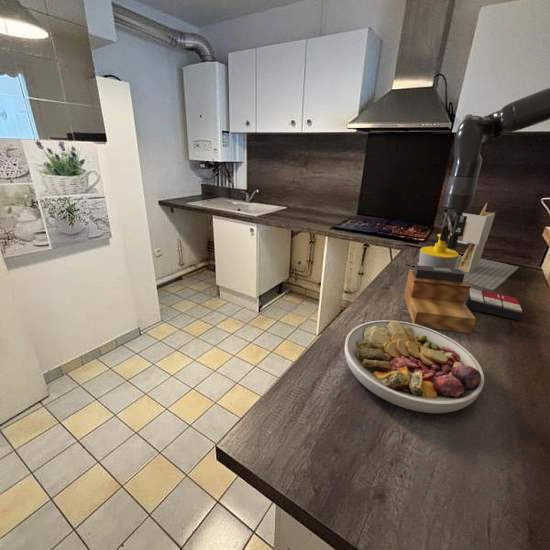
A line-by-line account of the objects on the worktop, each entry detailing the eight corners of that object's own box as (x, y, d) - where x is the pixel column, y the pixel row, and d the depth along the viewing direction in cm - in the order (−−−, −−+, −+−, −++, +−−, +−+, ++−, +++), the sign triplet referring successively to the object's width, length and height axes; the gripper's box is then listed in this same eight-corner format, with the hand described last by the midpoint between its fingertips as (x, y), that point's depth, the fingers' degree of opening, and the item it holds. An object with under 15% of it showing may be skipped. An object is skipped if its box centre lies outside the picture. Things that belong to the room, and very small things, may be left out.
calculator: (525, 311, 91) (469, 297, 98) (519, 323, 93) (465, 308, 99) (518, 297, 100) (468, 285, 106) (513, 308, 102) (464, 296, 108)
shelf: (451, 302, 104) (460, 274, 100) (472, 333, 86) (483, 300, 82) (403, 296, 108) (408, 269, 103) (412, 325, 90) (420, 293, 85)
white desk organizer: (445, 266, 137) (461, 204, 126) (458, 258, 147) (474, 200, 136) (468, 272, 130) (487, 207, 119) (480, 264, 140) (499, 203, 129)
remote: (457, 276, 97) (460, 268, 96) (462, 282, 93) (464, 273, 92) (413, 272, 101) (414, 264, 99) (415, 277, 96) (417, 269, 95)
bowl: (320, 373, 70) (322, 346, 67) (372, 323, 91) (376, 300, 88) (462, 452, 52) (474, 420, 49) (487, 366, 73) (496, 340, 70)
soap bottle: (437, 296, 108) (451, 241, 100) (406, 283, 118) (416, 233, 110) (455, 288, 115) (470, 236, 106) (424, 277, 125) (436, 228, 116)
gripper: (483, 195, 79) (467, 252, 86) (465, 189, 92) (453, 239, 98) (453, 194, 81) (440, 250, 87) (439, 189, 94) (428, 237, 100)
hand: (446, 244), depth 93 cm, fingers open, 8 cm apart
